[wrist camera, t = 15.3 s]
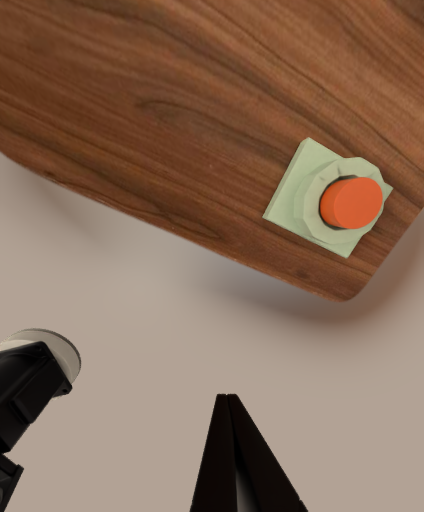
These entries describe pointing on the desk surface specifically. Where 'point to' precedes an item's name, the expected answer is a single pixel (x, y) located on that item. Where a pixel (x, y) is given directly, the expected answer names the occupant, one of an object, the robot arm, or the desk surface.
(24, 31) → the desk surface
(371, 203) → the button
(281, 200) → the control block
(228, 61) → the desk surface
